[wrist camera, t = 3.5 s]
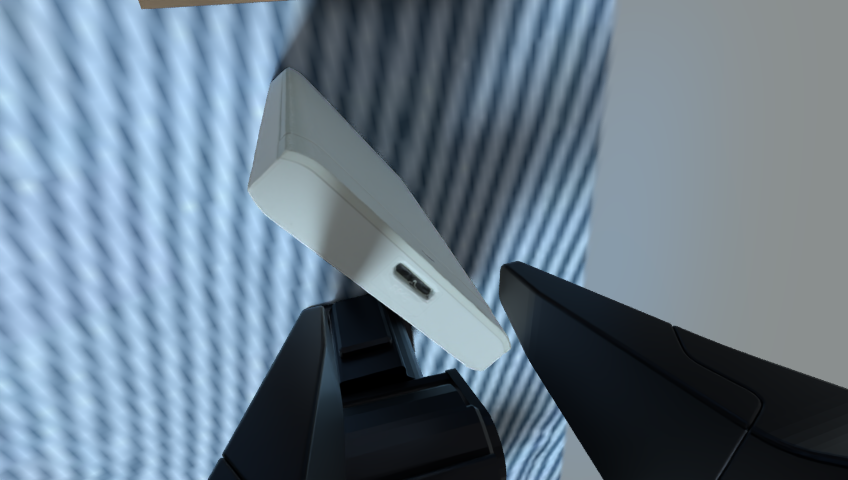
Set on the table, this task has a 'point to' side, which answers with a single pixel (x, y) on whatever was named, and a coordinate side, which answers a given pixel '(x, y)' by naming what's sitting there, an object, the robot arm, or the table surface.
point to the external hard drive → (365, 221)
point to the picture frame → (191, 3)
